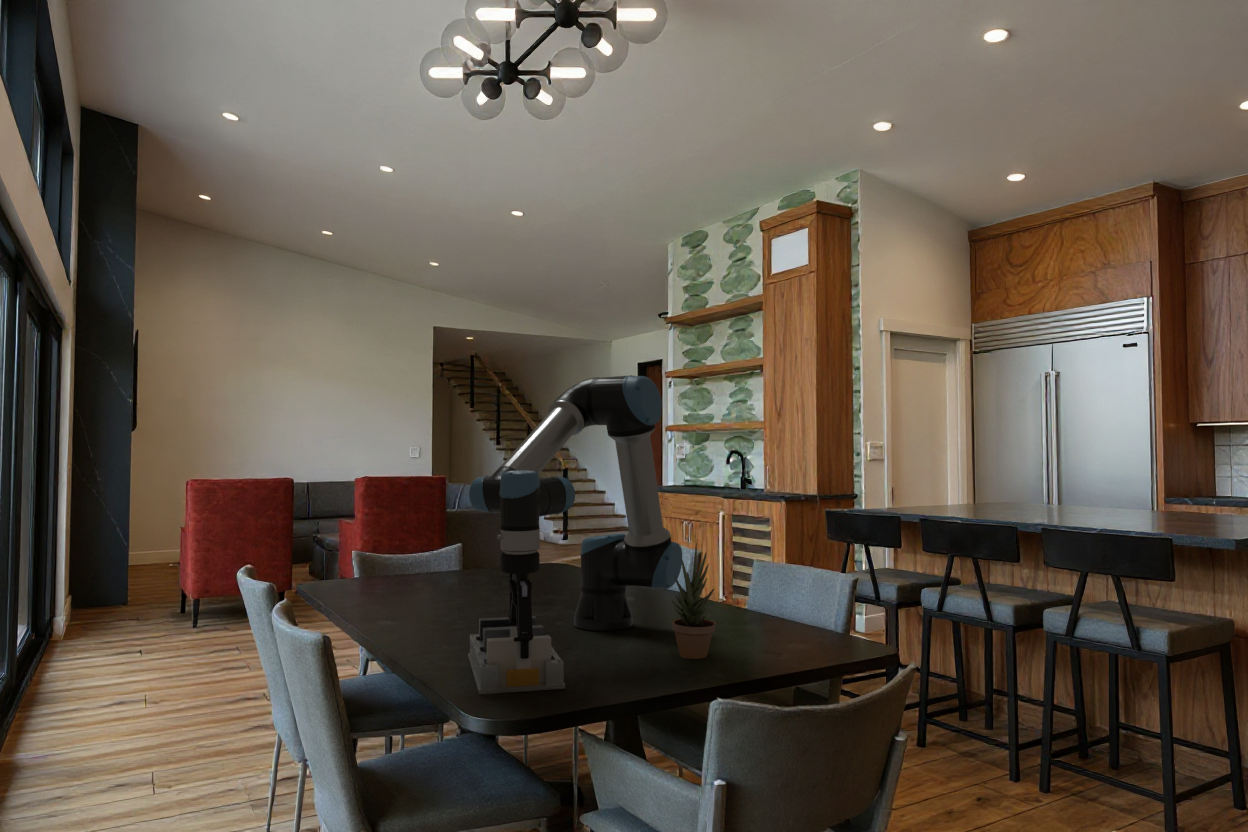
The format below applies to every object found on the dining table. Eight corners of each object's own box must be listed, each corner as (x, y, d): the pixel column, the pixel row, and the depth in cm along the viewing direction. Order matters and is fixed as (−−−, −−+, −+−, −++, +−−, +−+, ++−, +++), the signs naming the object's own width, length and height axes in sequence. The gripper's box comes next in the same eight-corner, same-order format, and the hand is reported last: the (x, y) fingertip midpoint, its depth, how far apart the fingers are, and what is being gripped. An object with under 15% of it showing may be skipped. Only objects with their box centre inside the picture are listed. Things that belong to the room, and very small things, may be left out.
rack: (468, 656, 181) (468, 615, 181) (541, 652, 185) (541, 612, 185) (479, 695, 152) (479, 646, 152) (565, 689, 156) (565, 641, 156)
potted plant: (720, 660, 178) (720, 544, 179) (677, 662, 177) (677, 545, 178) (708, 649, 188) (708, 539, 189) (667, 650, 186) (667, 540, 188)
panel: (486, 681, 159) (486, 638, 159) (548, 676, 162) (549, 635, 162) (487, 684, 156) (488, 641, 156) (550, 680, 159) (551, 638, 159)
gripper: (494, 543, 170) (495, 652, 170) (506, 561, 149) (507, 686, 149) (531, 541, 172) (531, 649, 172) (548, 559, 150) (548, 682, 150)
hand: (520, 666), depth 160 cm, fingers open, 10 cm apart
